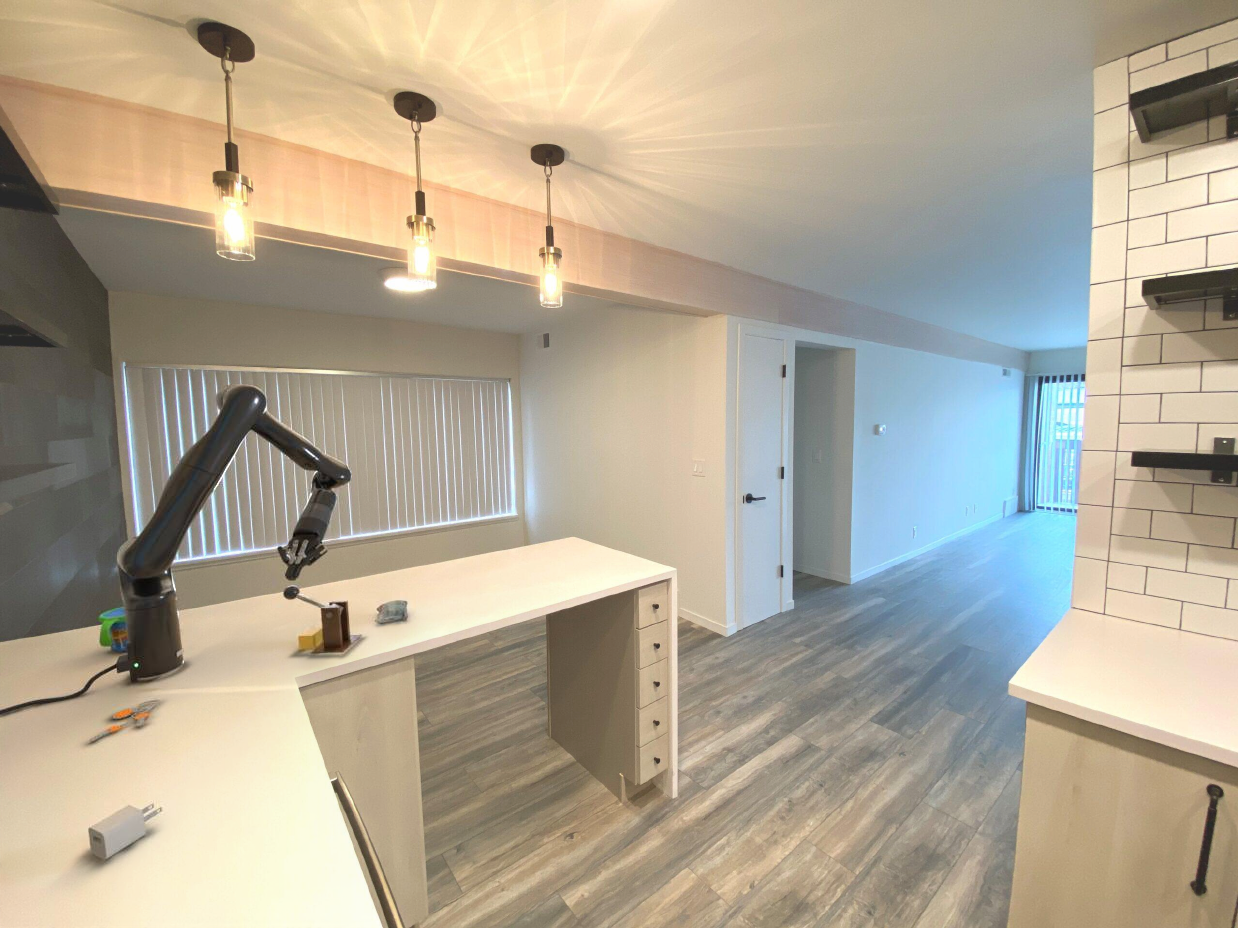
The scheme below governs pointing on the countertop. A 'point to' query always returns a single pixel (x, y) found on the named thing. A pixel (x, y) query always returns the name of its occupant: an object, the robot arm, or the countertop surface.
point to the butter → (310, 638)
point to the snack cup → (113, 630)
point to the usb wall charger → (119, 830)
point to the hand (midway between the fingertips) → (290, 579)
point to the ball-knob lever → (304, 597)
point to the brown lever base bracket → (335, 629)
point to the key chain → (139, 716)
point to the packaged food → (392, 611)
